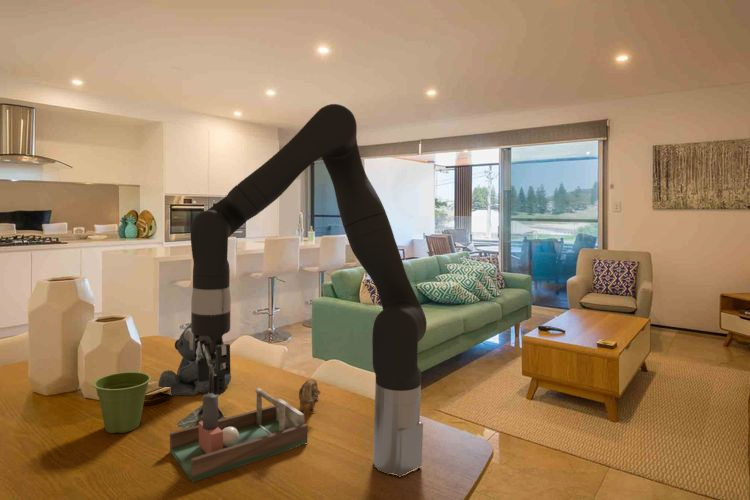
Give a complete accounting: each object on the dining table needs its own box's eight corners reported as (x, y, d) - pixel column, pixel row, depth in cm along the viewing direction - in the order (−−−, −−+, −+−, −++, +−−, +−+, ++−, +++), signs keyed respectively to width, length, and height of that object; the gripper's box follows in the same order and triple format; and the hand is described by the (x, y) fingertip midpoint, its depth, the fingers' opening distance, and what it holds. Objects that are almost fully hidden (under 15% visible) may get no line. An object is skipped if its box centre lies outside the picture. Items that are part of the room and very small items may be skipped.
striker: (224, 454, 98) (224, 399, 97) (209, 459, 96) (209, 403, 95) (211, 441, 103) (211, 389, 102) (197, 445, 101) (197, 392, 100)
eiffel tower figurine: (206, 403, 127) (206, 354, 126) (242, 407, 126) (242, 357, 124) (172, 428, 113) (172, 373, 112) (212, 433, 111) (212, 377, 110)
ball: (242, 446, 102) (242, 428, 101) (223, 452, 99) (223, 433, 99) (234, 439, 105) (234, 421, 104) (216, 444, 102) (216, 426, 102)
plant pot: (128, 442, 105) (127, 392, 104) (81, 435, 107) (80, 386, 106) (162, 419, 116) (161, 373, 115) (119, 413, 119) (118, 369, 118)
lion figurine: (320, 419, 119) (321, 384, 118) (298, 420, 118) (299, 384, 117) (318, 396, 133) (318, 364, 132) (298, 397, 132) (299, 365, 132)
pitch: (307, 443, 106) (308, 400, 105) (192, 482, 90) (192, 431, 90) (276, 421, 117) (277, 381, 116) (169, 451, 101) (169, 406, 100)
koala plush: (182, 375, 147) (181, 312, 145) (240, 377, 146) (240, 314, 145) (153, 397, 130) (153, 326, 128) (219, 400, 129) (219, 328, 127)
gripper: (243, 313, 94) (242, 394, 95) (216, 301, 105) (215, 373, 106) (205, 318, 89) (204, 402, 91) (180, 304, 100) (180, 380, 102)
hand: (210, 386), depth 99 cm, fingers open, 8 cm apart
